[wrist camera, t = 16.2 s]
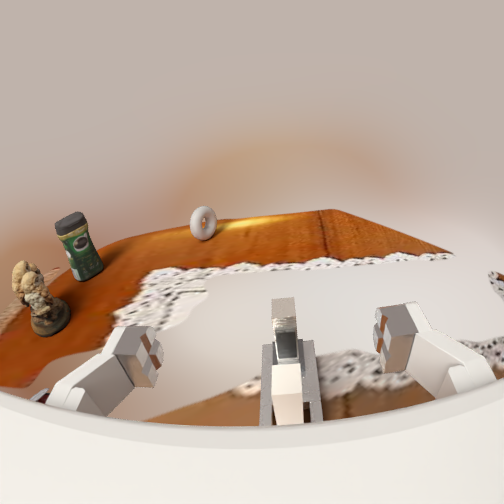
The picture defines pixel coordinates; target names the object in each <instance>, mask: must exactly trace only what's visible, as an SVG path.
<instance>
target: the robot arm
mask: <svg viewBox="0 0 504 504" xmlns="http://www.w3.org/2000/svg"><path fill="white" fill-rule="evenodd" d="M375 318H376V320H377V323H376V325H375V326H374V331H373V338H374V345H375V348H376V351H377V352H378V353H380V358H379V361H380V364H381V367H382V370H383V374H385V373H392V372H398V371H404V370H406V372H407V373H408V374H409V375H410V376H411V377H413V378H414V379H415V380H416V381H417V382H418V383H419V384H421V385H422V386H423V387H424V388H425V389H426V390H427V391H429V392H430V393H431V394H432V395H433V396H434V397H435V398H436V399H435V400H434V401H430V402H426V403H422V404H418V405H414V406H410V407H405V408H401V409H396V410H391V411H386V412H381V413H376V414H370V415H365V416H358V417H352V418H345V419H338V420H330V421H322V422H313V423H302V424H290V425H274V426H245V427H218V426H189V425H173V424H161V423H150V422H141V421H133V420H125V419H117V418H111V417H107V416H108V415H109V414H110V413H111V412H112V411H113V410H114V408H115V407H117V406H118V405H119V404H120V403H121V401H122V400H124V398H125V397H126V396H127V395H128V394H129V393H130V392H131V391H132V390H133V389H134V387H145V388H146V387H147V388H154V386H155V383H156V380H157V377H158V373H157V371H156V370H157V369H158V368H160V367H161V365H162V362H163V349H162V346H161V344H160V342H159V341H157V340H156V339H155V337H156V332H155V330H154V328H153V327H151V326H117V327H116V328H115V329H114V331H113V332H112V334H111V336H110V338H109V340H108V341H107V343H106V345H105V347H104V349H103V351H102V353H101V354H97V355H95V356H94V357H92V358H91V359H90V360H89V361H87V362H85V363H84V364H83V365H81V366H80V367H78V368H77V369H75V370H74V371H73V372H71V373H70V374H68V375H67V376H66V377H64V378H63V379H61V380H60V381H58V382H57V383H56V384H55V386H54V388H53V390H52V392H51V394H50V395H49V397H48V399H47V401H46V403H45V404H43V403H39V402H36V401H32V400H28V399H25V398H21V397H18V396H15V395H12V394H8V393H5V392H2V391H0V504H504V378H501V379H499V380H497V379H496V377H495V375H494V373H493V372H492V370H491V368H490V366H489V364H488V363H487V361H486V359H485V357H484V356H482V355H480V354H478V353H477V352H475V351H473V350H472V349H470V348H468V347H466V346H465V345H463V344H461V343H459V342H458V341H456V340H454V339H452V338H451V337H449V336H447V335H445V334H444V333H442V332H440V331H438V330H436V329H435V330H433V329H432V327H431V326H430V324H429V322H428V320H427V318H426V317H425V315H424V313H423V311H422V310H421V308H420V306H419V304H418V303H417V302H416V301H414V302H409V303H404V304H399V305H394V306H386V307H380V308H377V310H376V314H375Z"/></svg>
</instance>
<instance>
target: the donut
mask: <svg viewBox="0 0 504 504" xmlns="http://www.w3.org/2000/svg"><path fill="white" fill-rule="evenodd" d="M203 218H205V220H206V225H205V227H204V228H202V220H203ZM216 227H217V219H216V215H215V212H214V211H213V210H212V209H211V208H209V207H208V206H201V207H198V208H197V209H196V210H195V211H194V212H193V214H192V216H191V219H190V230H191V232H192V234H193V236H194V237H195V238H197V239H199V240H207V239H209V238H210V237H211V236H212V235H213V234H214V232H215V230H216Z"/></svg>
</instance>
